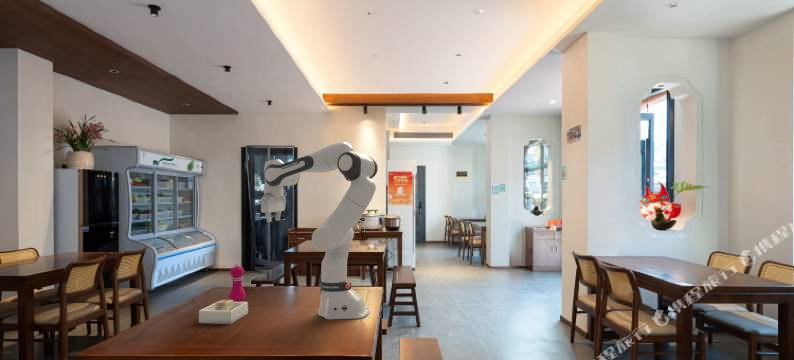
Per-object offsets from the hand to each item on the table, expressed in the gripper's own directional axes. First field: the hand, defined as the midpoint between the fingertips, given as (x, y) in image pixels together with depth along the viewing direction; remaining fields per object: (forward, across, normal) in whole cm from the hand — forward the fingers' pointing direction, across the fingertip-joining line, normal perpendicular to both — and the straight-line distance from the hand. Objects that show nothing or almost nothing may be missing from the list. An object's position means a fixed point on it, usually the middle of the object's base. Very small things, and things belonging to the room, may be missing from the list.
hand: (273, 221), depth 197 cm
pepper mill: (+39, -7, +15) cm, 43 cm away
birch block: (+38, -25, +11) cm, 47 cm away
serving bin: (+39, -25, +11) cm, 48 cm away
